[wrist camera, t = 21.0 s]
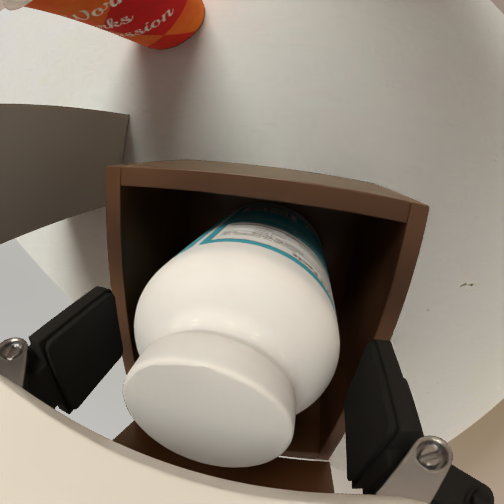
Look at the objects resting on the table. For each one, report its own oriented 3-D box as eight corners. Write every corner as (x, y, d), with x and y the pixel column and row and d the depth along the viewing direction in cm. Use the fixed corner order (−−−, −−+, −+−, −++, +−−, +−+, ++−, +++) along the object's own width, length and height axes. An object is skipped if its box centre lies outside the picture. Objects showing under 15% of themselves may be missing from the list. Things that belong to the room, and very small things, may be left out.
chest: (186, 159, 19) (106, 166, 10) (375, 183, 17) (430, 206, 9) (182, 347, 24) (137, 419, 16) (327, 374, 22) (328, 460, 14)
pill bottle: (239, 318, 21) (169, 481, 8) (194, 226, 19) (41, 335, 7) (339, 286, 19) (369, 471, 6) (299, 181, 17) (284, 249, 4)
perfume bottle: (119, 201, 20) (-99, 295, 4) (63, 191, 21) (-112, 255, 4) (129, 114, 18) (-113, 116, 1) (70, 116, 19) (-118, 132, 2)
